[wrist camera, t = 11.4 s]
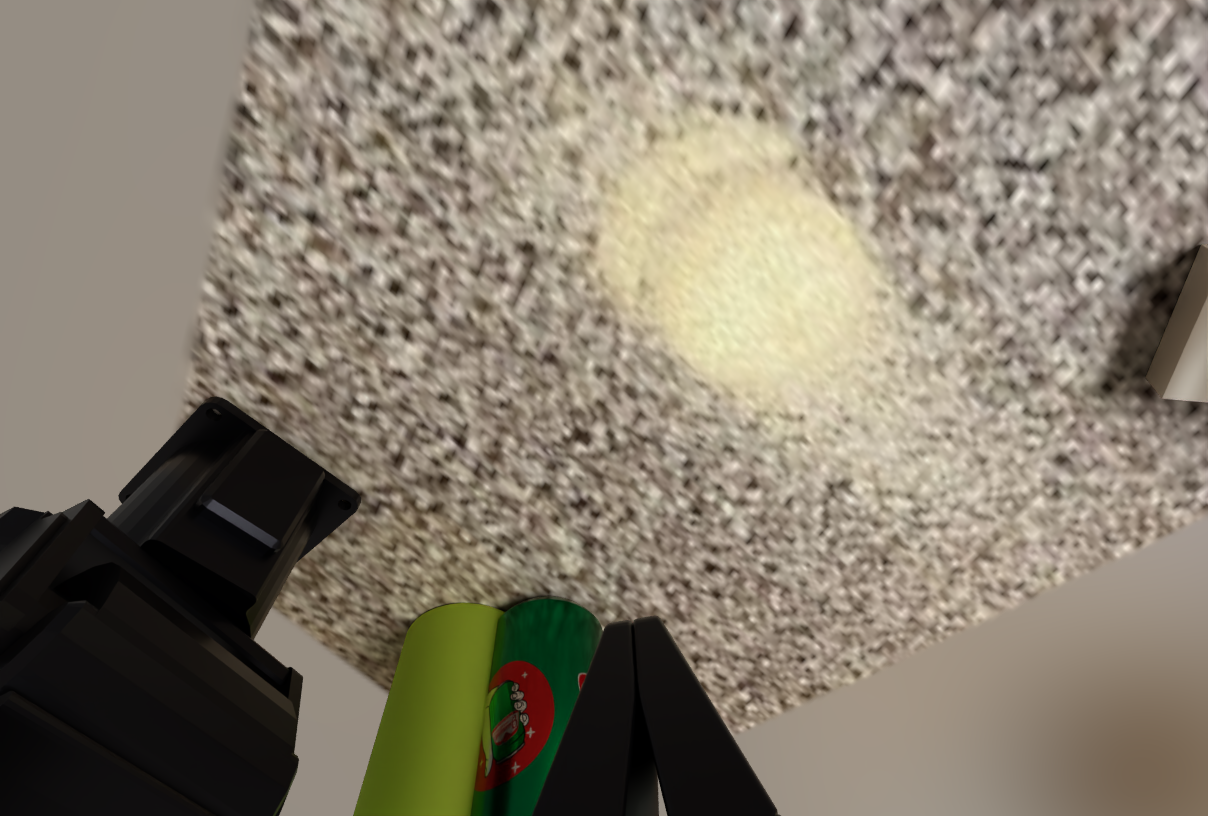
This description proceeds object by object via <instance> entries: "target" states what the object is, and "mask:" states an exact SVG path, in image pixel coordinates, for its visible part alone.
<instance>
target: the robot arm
mask: <svg viewBox="0 0 1208 816" xmlns="http://www.w3.org/2000/svg"><path fill="white" fill-rule="evenodd" d="M212 409H216V410H218V411H219V412H220V413H221V415H218V414H216V413H215V412H214V411H213V410H212ZM119 500H120V501H121V503H122V505H121V506H120V507H119V508H118V509H117V510H116V511H115V512H113V514H111V515H110V516H109V517H108V518H107V519H106V518H105V517H104V516H103V515H104V514H105V512H104V511H103V510H102V509H101V508H99V507H98V506H97V505H96V504H94V503H93V502H92V501H91V500H90V499H87V500H85V501H83V502H81V503H79V504H77V505H75V506H73V507H71V508H70V509H67V510H65V511H64V512H59V513H57V514H54V515H53V514H52V513H50V512H49V511H47V512H45V513H44V512H39V511H34V510H29V509H24V508H19V507H13V508H11V509H9V510H7V511H5V512H4V513H2V514H0V816H279V814H280V812H281V810H282V807H283V805H284V802H285V800H286V797H287V795H288V792H289V790H290V787H291V785H292V782H293V780H294V777H295V775H296V773H297V768H298V761H299V759H298V756H297V755H295V754H294V749H295V741H296V733H297V724H298V716H299V707H300V699H301V691H302V682H303V676H302V675H300V674H299V673H298V672H297V671H295V670H294V669H293V668H292V667H289V668H287V667H285V666H284V665H283V664H282V663H281V662H279V661H278V660H277V659H276V658H275V657H273V656H272V655H271V654H270V653H268V652H267V651H266V650H265V649H263V648H262V647H261V646H260V645H259V644H258V643H256V642H255V641H254V638H255V636H256V634H257V633H258V631H259V629H260V627H261V625H262V623H263V622H264V620H265V618H266V616H267V614H268V613H269V611H270V609H271V607H272V605H273V604H274V602H275V600H276V598H277V596H278V594H279V593H280V591H281V589H282V587H283V585H284V584H285V582H286V580H287V578H288V576H289V575H290V573H291V571H292V569H293V567H294V565H295V564H296V562H298V561H299V560H300V559H301V558H302V557H303V556H305V555H306V554H307V553H308V552H309V551H311V550H312V549H313V548H314V547H315V546H316V545H318V544H319V543H320V542H321V541H322V540H323V539H325V538H326V537H327V536H328V535H329V534H330V533H332V532H333V531H334V530H335V529H336V528H337V527H339V526H340V525H341V524H342V523H343V522H344V521H346V520H347V519H348V518H349V517H350V516H351V515H353V514H354V513H355V512H356V511H357V509H358V507H359V505H360V503H361V497H360V495H359V494H358V493H357V492H356V491H355V490H353V489H352V488H350V487H349V486H348V485H346V484H345V483H343V482H342V481H341V480H339V479H338V478H336V477H335V476H333V475H332V474H331V473H329V472H328V471H326V470H325V469H324V468H322V467H321V466H319V465H318V464H316V463H315V462H314V461H312V460H311V459H309V458H308V457H307V456H305V455H304V454H302V453H301V452H299V451H298V450H297V449H295V448H294V447H292V446H291V445H290V444H288V443H287V442H285V441H284V440H282V439H281V438H280V437H278V436H277V435H275V434H274V433H273V432H271V431H270V430H268V429H267V428H265V427H264V426H263V425H261V424H260V423H258V422H257V421H256V420H254V419H253V418H251V417H250V416H248V415H247V414H246V413H244V412H243V411H241V410H240V409H239V408H237V407H236V406H234V405H233V404H232V403H230V402H229V401H227V400H225V399H223V398H220V397H211V398H209V399H207V400H206V401H205V402H204V403H203V404H202V405H201V406H200V407H199V408H198V409H197V410H196V411H195V412H194V413H193V414H192V415H191V416H190V418H189V419H188V420H187V421H186V422H185V423H184V424H183V425H182V426H181V427H180V428H179V429H178V430H177V431H176V433H175V434H174V435H173V436H172V437H171V438H170V439H169V440H168V441H167V442H166V443H165V444H164V445H163V447H162V448H161V449H160V450H159V451H158V452H157V453H156V454H155V455H154V456H153V457H152V458H151V459H150V460H149V462H148V463H147V464H146V465H145V466H144V467H143V468H142V469H141V470H140V471H139V472H138V473H137V475H136V476H135V477H134V478H133V479H132V480H131V481H130V482H129V483H128V484H127V485H126V486H125V487H124V488H123V489H122V491H121V492H120V494H119ZM342 500H347V501H349V502H350V503H345V502H343V501H342ZM658 779H659V783H660V787H661V791H662V796H663V800H664V803H665V808H666V812H667V816H781V815H778V813H777V809H776V807H775V805H774V804H773V802H772V800H771V799H770V797H769V795H768V794H767V792H766V791H765V789H764V788H763V786H762V784H761V782H760V781H759V779H758V778H757V776H756V774H755V773H754V771H753V769H752V768H751V766H750V765H749V763H748V761H747V759H746V758H745V756H744V754H743V753H742V751H741V750H740V748H739V746H738V745H737V743H736V742H735V740H734V738H733V736H732V735H731V733H730V732H729V730H728V728H727V727H726V725H725V723H724V722H723V720H722V718H721V717H720V715H719V713H718V712H717V710H716V709H715V707H714V705H713V704H712V702H711V700H710V699H709V697H708V695H707V694H706V692H705V691H704V689H703V687H702V686H701V684H700V682H699V681H698V679H697V677H696V676H695V674H694V673H693V671H692V669H691V668H690V666H689V664H688V663H687V661H686V659H685V658H684V656H683V654H682V653H681V651H680V650H679V648H678V646H677V645H676V643H675V641H674V640H673V638H672V636H671V635H670V633H669V632H668V630H667V628H666V627H665V625H664V623H663V622H662V620H661V619H660V618H659V617H658V616H649V617H643V618H637V619H635V620H634V622H633V623H632V622H631V621H630V620H625V621H619V622H613V623H609V624H607V625H606V627H605V628H604V631H603V633H602V636H601V638H600V641H599V643H598V646H597V648H596V651H595V654H594V656H593V659H592V661H591V664H590V666H589V669H588V672H587V674H586V677H585V679H584V682H583V684H582V687H581V690H580V692H579V695H578V697H577V700H576V702H575V705H574V708H573V710H572V713H571V715H570V718H569V720H568V723H567V726H566V728H565V731H564V733H563V736H562V738H561V741H560V744H559V746H558V749H557V751H556V754H555V756H554V759H553V762H552V764H551V767H550V769H549V772H548V774H547V777H546V780H545V782H544V785H543V787H542V790H541V792H540V795H539V798H538V800H537V803H536V805H535V808H534V810H533V813H532V816H659V802H658Z"/></svg>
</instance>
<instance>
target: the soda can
mask: <svg viewBox="0 0 1208 816" xmlns="http://www.w3.org/2000/svg"><path fill="white" fill-rule="evenodd" d="M602 633H603V630H602V627H601V625H600V623H599V621H598V620H597V619H596V617H595V616H594V615H593V614H592V613H590V612H589V611H588V610H587V609H586V608H584V607H583V606H581V605H580V604H578V603H576V602H574V601H572V600H569V599H566V598H561V597H555V596H541V597H535V598H531V599H527V600H525V601H523V602H520V603H518V604H517V605H515V606H513V607H512V608H510V609H509V610H508V611H506V612H505V613H504V614H503V615H502V616H501V617H500V618H499V619H498V622H497V629H496V637H495V644H494V651H493V658H492V665H491V672H490V679H489V687H488V694H487V701H486V708H485V715H484V722H483V729H482V737H481V744H480V751H479V758H478V765H477V772H476V779H475V787H474V794H473V801H472V808H471V815H470V816H532V813H533V810H534V808H535V805H536V803H537V800H538V798H539V795H540V792H541V790H542V787H543V785H544V782H545V780H546V777H547V774H548V772H549V769H550V767H551V764H552V762H553V759H554V756H555V754H556V751H557V749H558V746H559V744H560V741H561V738H562V736H563V733H564V731H565V728H566V726H567V723H568V720H569V718H570V715H571V713H572V710H573V708H574V705H575V702H576V700H577V697H578V695H579V692H580V690H581V687H582V684H583V682H584V679H585V677H586V674H587V672H588V669H589V666H590V664H591V661H592V659H593V656H594V654H595V651H596V648H597V646H598V643H599V641H600V638H601V636H602Z"/></svg>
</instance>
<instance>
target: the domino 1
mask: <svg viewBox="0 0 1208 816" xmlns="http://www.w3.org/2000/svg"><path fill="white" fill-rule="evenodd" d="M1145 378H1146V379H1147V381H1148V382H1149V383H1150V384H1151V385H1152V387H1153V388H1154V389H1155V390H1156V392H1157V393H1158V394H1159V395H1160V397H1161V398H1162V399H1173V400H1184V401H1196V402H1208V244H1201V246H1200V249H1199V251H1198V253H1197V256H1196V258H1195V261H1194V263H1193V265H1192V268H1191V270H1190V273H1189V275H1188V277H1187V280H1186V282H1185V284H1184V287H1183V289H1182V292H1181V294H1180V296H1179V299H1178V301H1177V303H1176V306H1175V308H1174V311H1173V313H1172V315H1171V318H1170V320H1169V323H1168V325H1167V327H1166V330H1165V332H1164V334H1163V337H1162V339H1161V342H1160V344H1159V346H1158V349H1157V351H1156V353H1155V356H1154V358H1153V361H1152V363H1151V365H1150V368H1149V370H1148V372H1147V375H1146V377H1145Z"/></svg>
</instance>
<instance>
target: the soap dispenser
mask: <svg viewBox="0 0 1208 816" xmlns="http://www.w3.org/2000/svg"><path fill="white" fill-rule="evenodd" d="M504 613H505V612H503V611H501V610H499V609H496V608H493V607H490V606H486V605H481V604H473V603H457V604H449V605H444V606H440V607H437V608H434V609H432V610H430V611H428V612H426V613H424V614H423V615H421V616H420V617H419V618H417V619H416V620H415V621H414V622H413V624H412V625H411V626H410V628H409V630H408V632H407V634H406V638H405V641H404V644H403V648H402V651H401V655H400V658H399V661H398V665H397V668H396V672H395V675H394V678H393V682H392V685H391V689H390V692H389V695H388V699H387V702H386V706H385V709H384V712H383V716H382V719H381V723H380V726H379V729H378V733H377V736H376V740H375V743H374V747H373V750H372V754H371V757H370V761H369V764H368V767H367V770H366V774H365V777H364V781H363V784H362V787H361V791H360V794H359V798H358V801H357V804H356V808H355V811H354V815H353V816H470V815H471V808H472V801H473V794H474V787H475V779H476V772H477V765H478V758H479V751H480V744H481V737H482V729H483V722H484V715H485V708H486V701H487V694H488V687H489V679H490V672H491V665H492V658H493V651H494V644H495V637H496V629H497V622H498V619H499V618H500V617H501V616H502V615H503V614H504Z"/></svg>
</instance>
